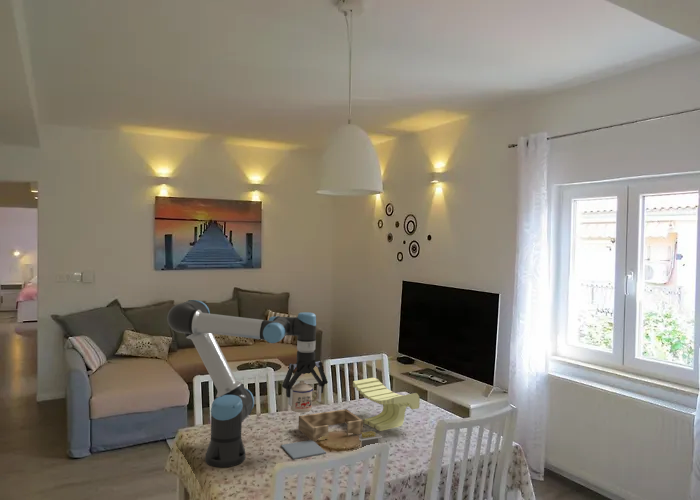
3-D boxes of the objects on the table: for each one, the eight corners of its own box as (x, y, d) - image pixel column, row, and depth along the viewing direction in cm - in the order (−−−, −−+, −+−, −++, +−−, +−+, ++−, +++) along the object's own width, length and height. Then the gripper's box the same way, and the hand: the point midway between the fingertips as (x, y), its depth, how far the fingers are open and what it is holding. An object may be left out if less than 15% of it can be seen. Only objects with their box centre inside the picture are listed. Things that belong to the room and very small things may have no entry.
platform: (343, 445, 217) (344, 430, 216) (380, 439, 224) (381, 425, 224) (355, 456, 206) (356, 440, 206) (394, 450, 213) (395, 434, 213)
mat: (293, 459, 200) (293, 458, 200) (281, 446, 213) (281, 444, 213) (325, 453, 207) (325, 452, 207) (312, 441, 219) (312, 439, 219)
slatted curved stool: (418, 430, 236) (419, 391, 236) (392, 437, 226) (394, 397, 226) (377, 411, 260) (378, 376, 260) (352, 417, 250) (353, 381, 250)
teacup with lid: (294, 414, 203) (295, 385, 202) (286, 407, 211) (287, 379, 211) (322, 410, 208) (323, 382, 208) (313, 404, 216) (314, 376, 216)
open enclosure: (312, 442, 218) (313, 428, 218) (298, 429, 233) (298, 415, 232) (362, 433, 229) (363, 420, 229) (346, 421, 244) (346, 409, 244)
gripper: (281, 354, 200) (279, 409, 200) (336, 350, 211) (335, 402, 212) (274, 350, 207) (273, 403, 207) (328, 346, 218) (327, 396, 218)
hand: (304, 403), depth 209 cm, fingers closed on teacup with lid, 12 cm apart
